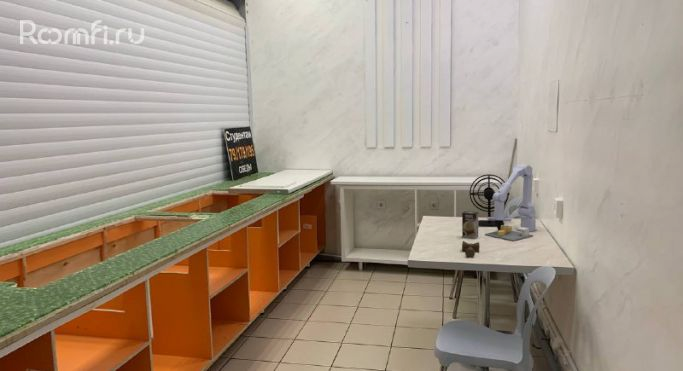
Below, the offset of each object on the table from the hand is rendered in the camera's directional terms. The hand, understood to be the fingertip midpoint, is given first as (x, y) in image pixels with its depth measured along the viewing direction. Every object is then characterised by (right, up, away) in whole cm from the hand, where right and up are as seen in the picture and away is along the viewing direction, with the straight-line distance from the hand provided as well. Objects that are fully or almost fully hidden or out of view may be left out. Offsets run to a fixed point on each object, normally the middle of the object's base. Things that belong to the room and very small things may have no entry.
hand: (499, 231), depth 321 cm
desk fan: (+3, +2, +32) cm, 33 cm away
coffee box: (-19, -3, -2) cm, 19 cm away
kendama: (-28, -9, -38) cm, 48 cm away
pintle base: (+5, -2, -3) cm, 6 cm away
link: (+3, -1, 0) cm, 3 cm away
